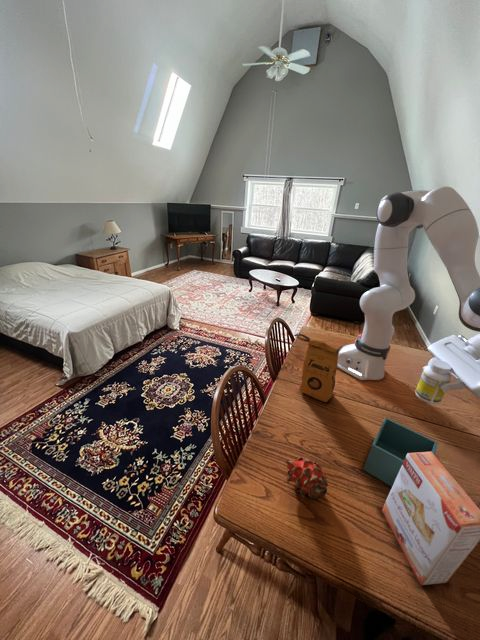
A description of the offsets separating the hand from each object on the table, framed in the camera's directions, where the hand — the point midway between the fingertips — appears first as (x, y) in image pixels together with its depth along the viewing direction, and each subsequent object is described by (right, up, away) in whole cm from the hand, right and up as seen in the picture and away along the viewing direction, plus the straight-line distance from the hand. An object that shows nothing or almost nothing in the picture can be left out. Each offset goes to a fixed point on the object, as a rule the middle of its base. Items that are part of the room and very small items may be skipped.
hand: (432, 379), depth 72 cm
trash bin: (-8, -26, +3) cm, 27 cm away
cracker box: (-15, -33, -13) cm, 39 cm away
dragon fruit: (-35, -27, -2) cm, 45 cm away
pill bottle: (0, -6, +3) cm, 6 cm away
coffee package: (-23, -12, +31) cm, 40 cm away
